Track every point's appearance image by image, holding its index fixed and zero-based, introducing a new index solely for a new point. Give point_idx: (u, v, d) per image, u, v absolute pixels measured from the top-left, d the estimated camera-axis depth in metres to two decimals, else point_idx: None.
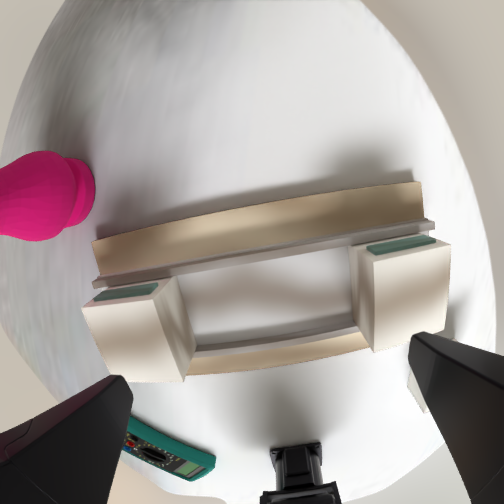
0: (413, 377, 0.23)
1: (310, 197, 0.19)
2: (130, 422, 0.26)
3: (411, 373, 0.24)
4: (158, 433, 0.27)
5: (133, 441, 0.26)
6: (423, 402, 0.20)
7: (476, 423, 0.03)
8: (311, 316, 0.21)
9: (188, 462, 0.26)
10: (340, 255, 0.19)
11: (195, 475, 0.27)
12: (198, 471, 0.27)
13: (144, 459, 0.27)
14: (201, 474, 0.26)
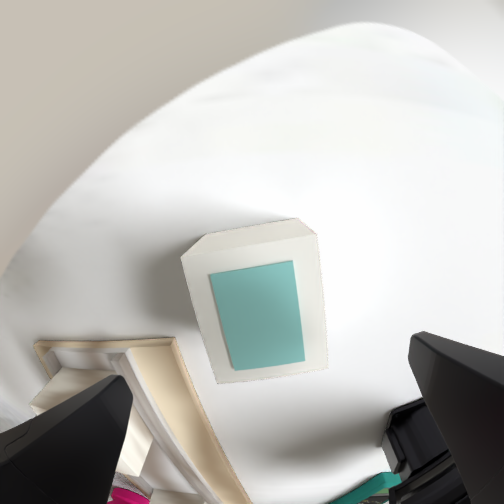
0: None
1: None
2: None
3: None
4: (335, 502, 0.22)
5: None
6: None
7: (476, 423, 0.03)
8: (161, 450, 0.17)
9: (374, 494, 0.20)
10: None
11: None
12: None
13: None
14: None
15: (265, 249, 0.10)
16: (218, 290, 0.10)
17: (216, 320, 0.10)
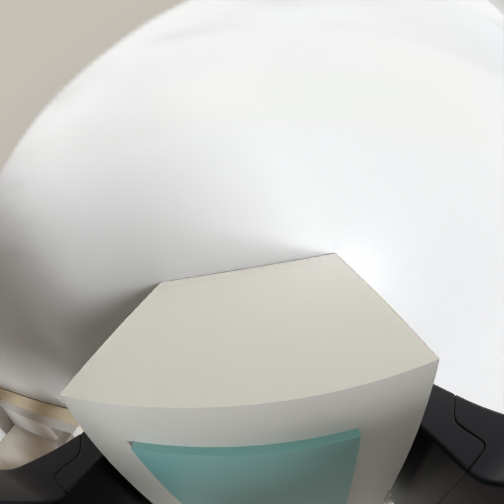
0: None
1: None
2: None
3: None
4: None
5: None
6: None
7: None
8: None
9: None
10: None
11: None
12: None
13: None
14: None
15: (280, 415, 0.03)
16: (159, 472, 0.03)
17: (170, 494, 0.03)
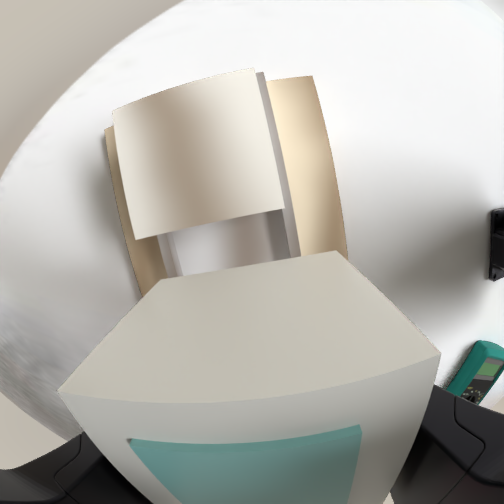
0: None
1: (133, 265, 0.17)
2: None
3: None
4: None
5: None
6: None
7: None
8: (270, 261, 0.16)
9: (477, 375, 0.18)
10: (186, 231, 0.16)
11: (500, 359, 0.17)
12: (494, 358, 0.18)
13: None
14: (497, 358, 0.17)
15: (281, 411, 0.03)
16: (158, 469, 0.03)
17: (169, 493, 0.03)
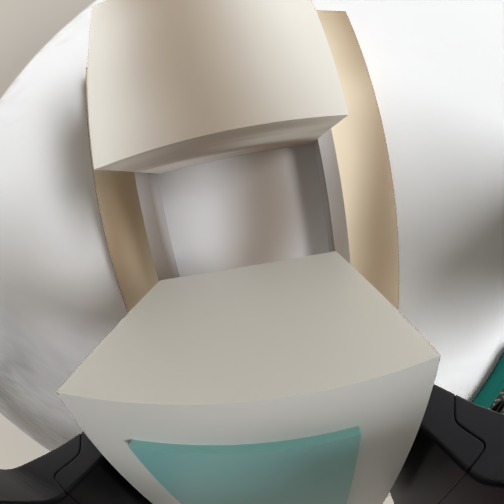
0: None
1: (107, 237, 0.12)
2: None
3: None
4: None
5: None
6: None
7: None
8: (299, 229, 0.11)
9: None
10: (179, 184, 0.11)
11: None
12: None
13: None
14: None
15: (280, 412, 0.03)
16: (157, 471, 0.03)
17: (169, 493, 0.03)
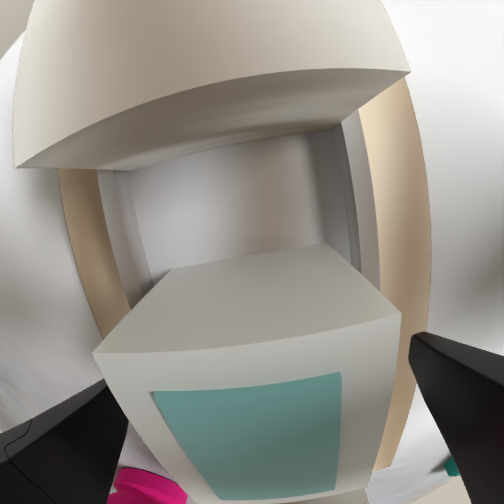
0: None
1: (74, 250, 0.09)
2: None
3: None
4: None
5: None
6: None
7: (476, 423, 0.03)
8: (313, 243, 0.08)
9: None
10: (155, 183, 0.08)
11: None
12: None
13: None
14: None
15: (276, 355, 0.04)
16: (175, 420, 0.04)
17: (180, 452, 0.04)
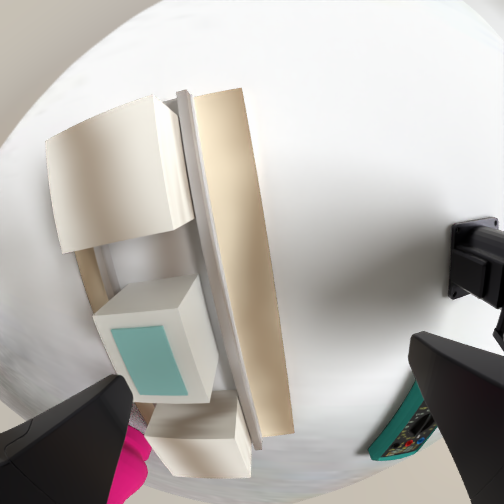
0: None
1: (80, 271, 0.17)
2: (376, 447, 0.22)
3: None
4: (390, 423, 0.22)
5: (402, 443, 0.21)
6: None
7: (476, 423, 0.03)
8: (192, 273, 0.17)
9: None
10: (119, 242, 0.16)
11: None
12: None
13: None
14: None
15: (142, 316, 0.12)
16: (117, 340, 0.12)
17: (121, 359, 0.13)
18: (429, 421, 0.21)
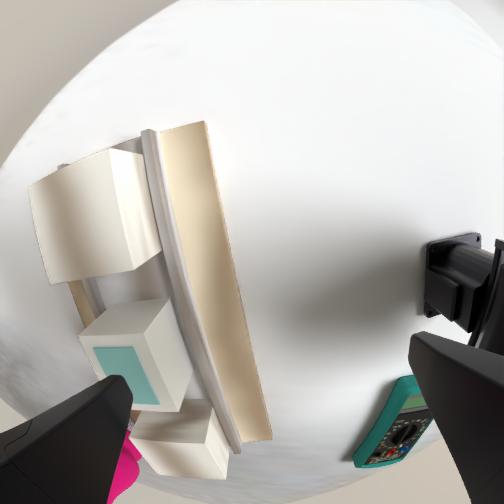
0: None
1: (72, 291, 0.19)
2: (358, 456, 0.23)
3: None
4: (370, 433, 0.23)
5: (384, 452, 0.22)
6: None
7: (476, 423, 0.03)
8: (165, 297, 0.18)
9: (406, 409, 0.20)
10: None
11: None
12: None
13: (419, 433, 0.21)
14: None
15: (117, 338, 0.13)
16: (98, 357, 0.13)
17: (103, 372, 0.14)
18: (411, 431, 0.21)
